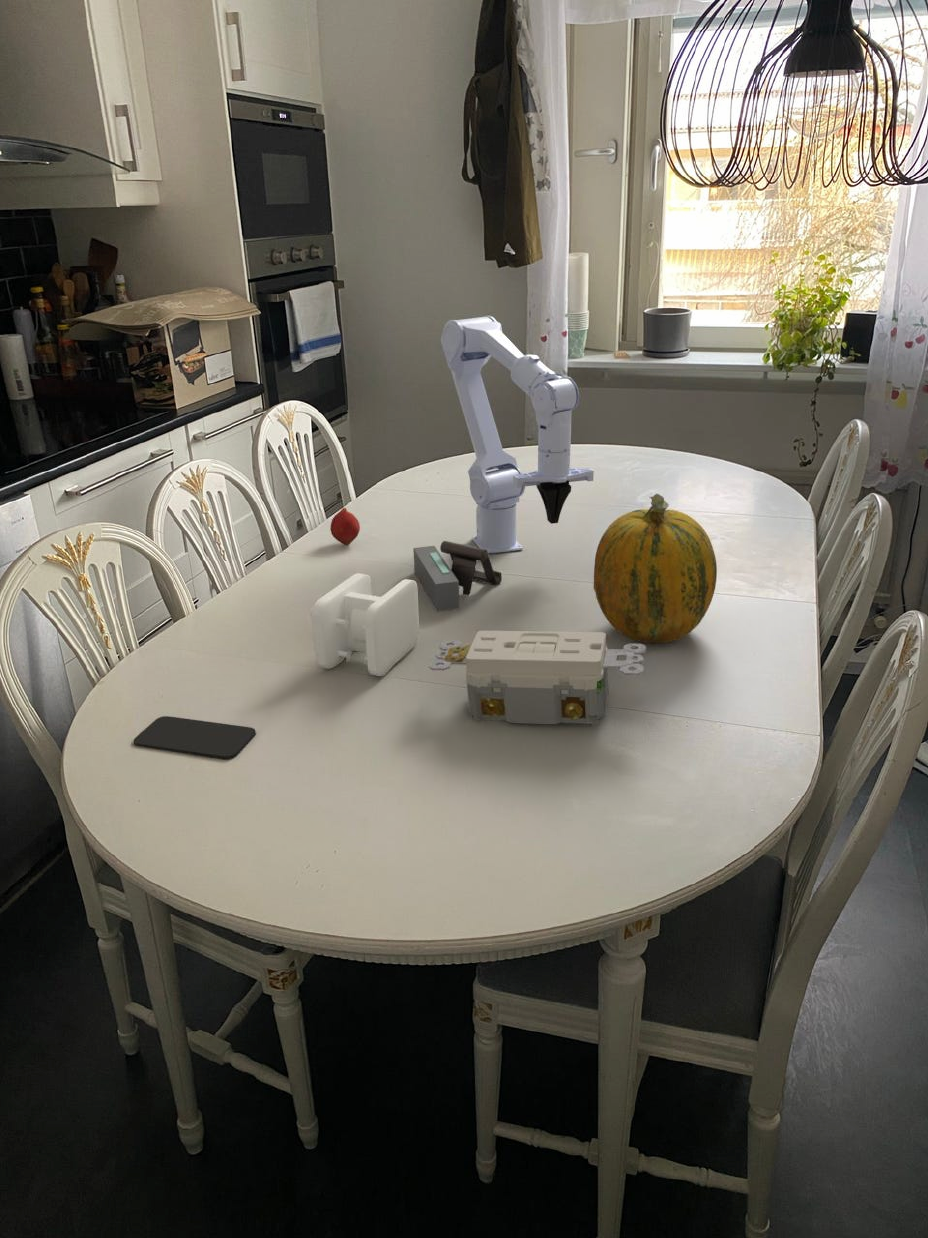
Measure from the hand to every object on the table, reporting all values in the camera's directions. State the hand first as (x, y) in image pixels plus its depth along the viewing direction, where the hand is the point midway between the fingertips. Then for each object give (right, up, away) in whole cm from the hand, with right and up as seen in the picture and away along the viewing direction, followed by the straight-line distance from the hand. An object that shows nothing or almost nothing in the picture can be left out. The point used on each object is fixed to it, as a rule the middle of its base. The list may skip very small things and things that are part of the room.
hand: (552, 521), depth 172 cm
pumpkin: (+14, -20, -21) cm, 32 cm away
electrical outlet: (-6, -30, -42) cm, 52 cm away
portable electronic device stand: (-15, -12, -2) cm, 19 cm away
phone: (-52, -34, -47) cm, 78 cm away
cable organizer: (-31, -24, -27) cm, 48 cm away
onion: (-40, -3, +18) cm, 44 cm away
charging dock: (-21, -13, -4) cm, 25 cm away
